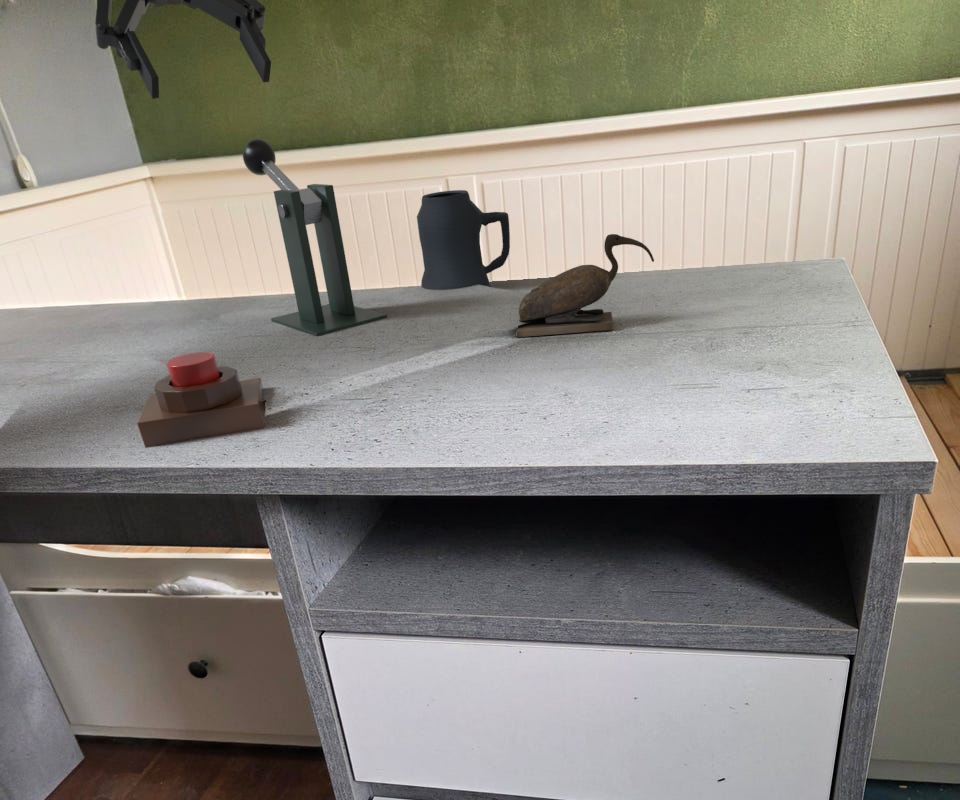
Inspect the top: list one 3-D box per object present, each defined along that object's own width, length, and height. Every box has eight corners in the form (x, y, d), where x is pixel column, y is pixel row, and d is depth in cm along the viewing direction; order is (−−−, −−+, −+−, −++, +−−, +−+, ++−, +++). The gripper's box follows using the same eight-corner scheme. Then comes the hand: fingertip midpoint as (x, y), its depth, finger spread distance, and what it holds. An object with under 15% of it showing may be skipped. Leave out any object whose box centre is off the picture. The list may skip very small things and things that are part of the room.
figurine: (652, 316, 92) (653, 226, 87) (654, 327, 88) (655, 234, 83) (519, 326, 94) (513, 239, 89) (516, 338, 90) (509, 247, 86)
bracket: (273, 331, 104) (242, 193, 96) (340, 314, 108) (315, 180, 100) (319, 347, 96) (288, 197, 87) (389, 328, 100) (366, 182, 91)
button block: (145, 448, 74) (129, 401, 71) (156, 418, 80) (143, 374, 78) (264, 428, 75) (252, 382, 72) (266, 400, 81) (255, 357, 79)
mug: (416, 302, 109) (402, 203, 103) (424, 286, 116) (412, 192, 110) (512, 294, 107) (504, 192, 101) (514, 278, 115) (507, 182, 109)
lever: (238, 168, 101) (236, 135, 98) (267, 163, 102) (265, 131, 99) (298, 232, 95) (297, 199, 92) (327, 226, 96) (327, 193, 93)
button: (171, 393, 74) (163, 369, 72) (176, 380, 77) (169, 356, 76) (219, 385, 74) (212, 361, 73) (222, 373, 77) (215, 349, 76)
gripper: (232, -43, 112) (306, 92, 110) (30, -26, 102) (107, 123, 100) (235, -104, 105) (314, 38, 103) (20, -92, 95) (102, 65, 93)
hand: (213, 80), depth 101 cm, fingers open, 13 cm apart
